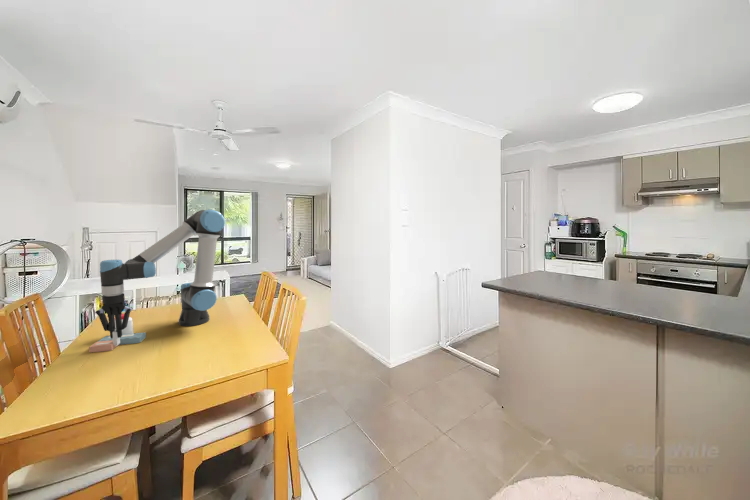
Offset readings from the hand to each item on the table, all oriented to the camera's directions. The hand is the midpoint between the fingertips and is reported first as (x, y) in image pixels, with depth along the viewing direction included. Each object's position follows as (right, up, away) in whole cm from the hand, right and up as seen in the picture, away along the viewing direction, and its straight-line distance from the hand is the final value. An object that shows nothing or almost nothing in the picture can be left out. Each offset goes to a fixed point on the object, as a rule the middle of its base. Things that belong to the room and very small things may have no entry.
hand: (116, 344), depth 134 cm
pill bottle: (-8, 0, +13) cm, 15 cm away
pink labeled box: (-5, -2, -1) cm, 5 cm away
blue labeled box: (-3, -1, +7) cm, 7 cm away
